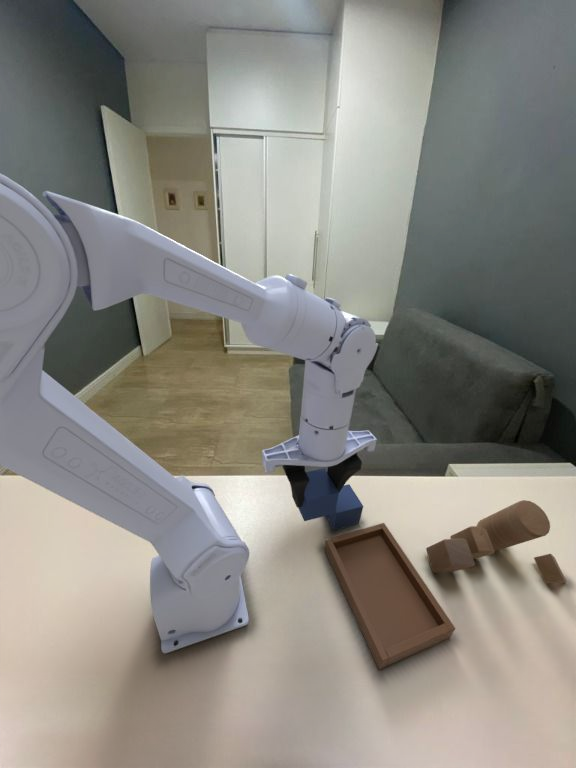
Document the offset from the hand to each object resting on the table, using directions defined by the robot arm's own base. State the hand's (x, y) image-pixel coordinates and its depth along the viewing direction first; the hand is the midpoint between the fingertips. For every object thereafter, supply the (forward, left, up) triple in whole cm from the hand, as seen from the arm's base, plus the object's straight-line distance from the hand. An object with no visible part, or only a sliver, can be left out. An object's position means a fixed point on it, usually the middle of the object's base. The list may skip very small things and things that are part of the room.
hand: (314, 496), depth 42 cm
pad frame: (+6, -9, -8) cm, 14 cm away
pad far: (+6, +2, -8) cm, 10 cm away
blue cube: (0, 0, -1) cm, 1 cm away
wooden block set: (+23, -11, -8) cm, 27 cm away
